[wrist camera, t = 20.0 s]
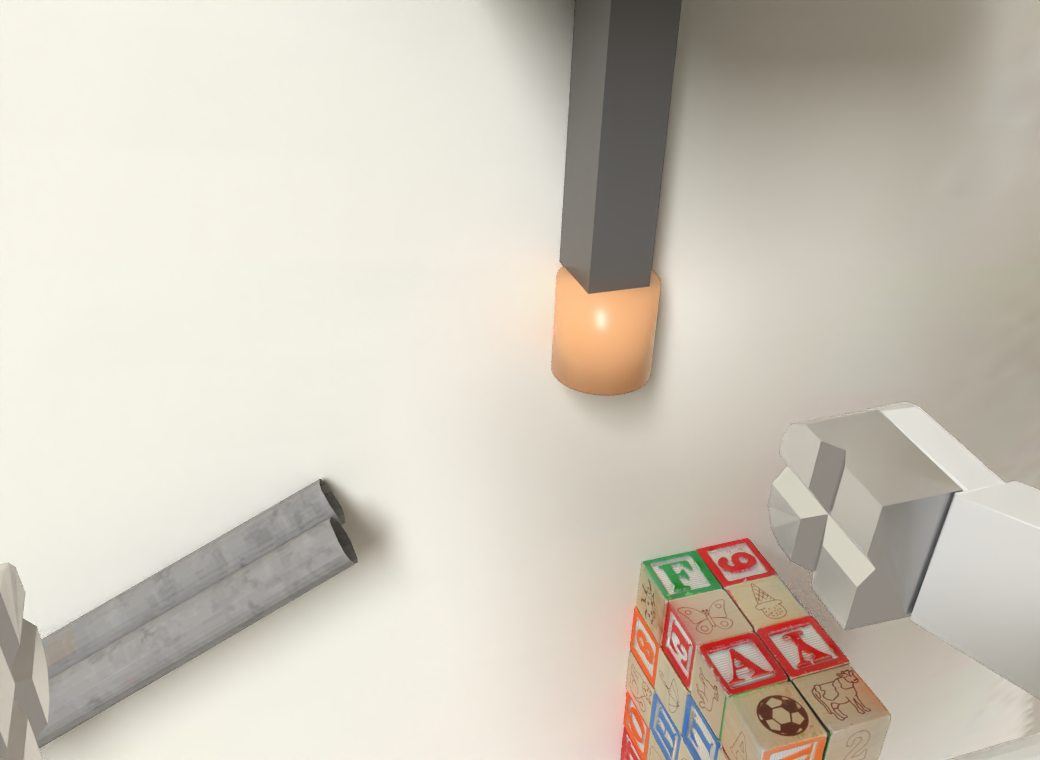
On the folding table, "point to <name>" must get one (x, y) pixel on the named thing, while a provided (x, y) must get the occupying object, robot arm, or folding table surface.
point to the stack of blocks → (738, 668)
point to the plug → (613, 193)
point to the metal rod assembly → (193, 606)
